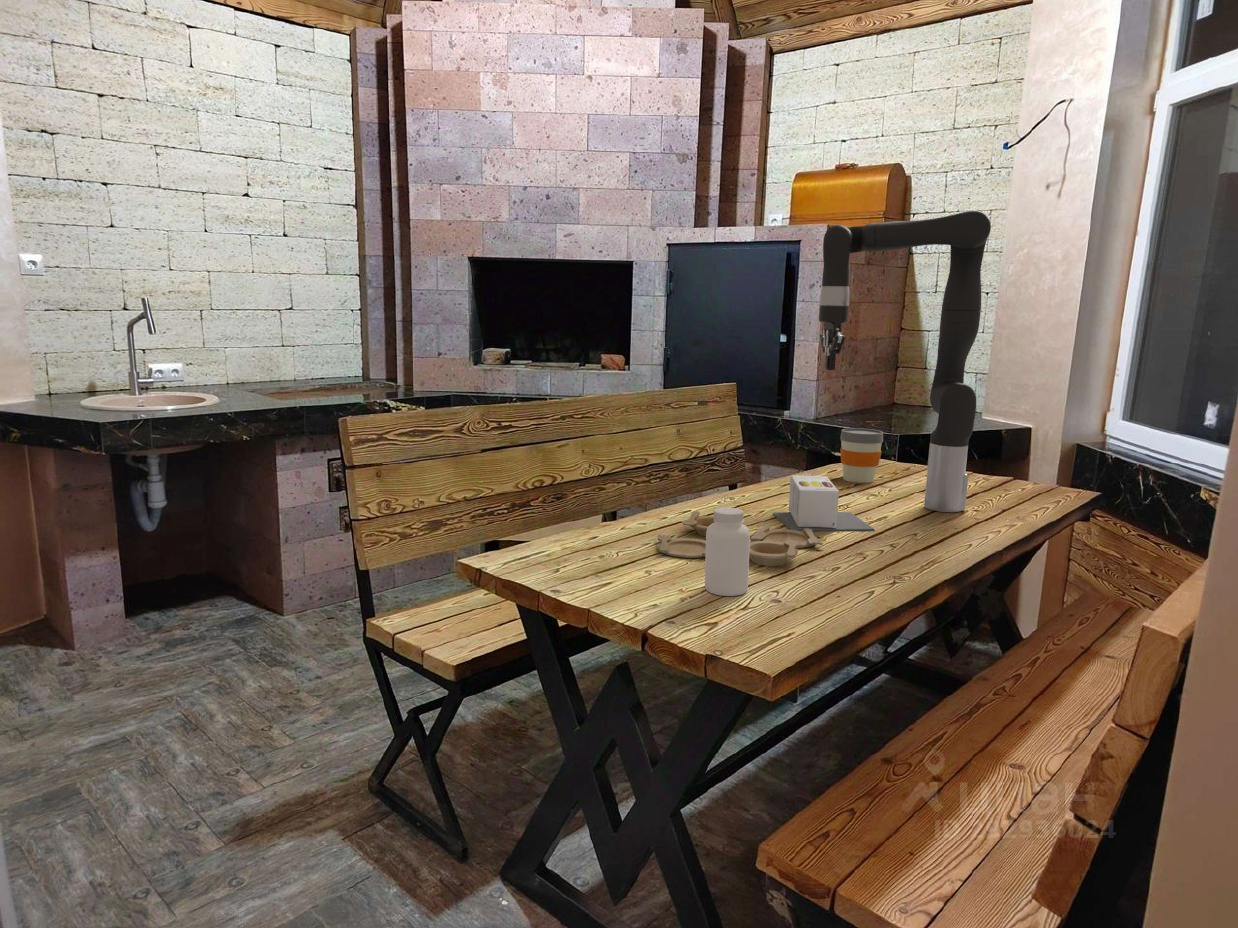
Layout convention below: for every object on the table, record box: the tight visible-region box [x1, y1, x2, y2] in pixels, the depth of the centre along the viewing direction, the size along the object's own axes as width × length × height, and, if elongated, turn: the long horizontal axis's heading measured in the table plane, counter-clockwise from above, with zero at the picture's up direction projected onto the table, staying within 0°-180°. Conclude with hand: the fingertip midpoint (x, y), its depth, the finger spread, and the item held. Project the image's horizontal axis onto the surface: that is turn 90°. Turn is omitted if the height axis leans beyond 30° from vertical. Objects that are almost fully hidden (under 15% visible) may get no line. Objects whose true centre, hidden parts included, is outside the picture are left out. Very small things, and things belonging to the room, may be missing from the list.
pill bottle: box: [704, 507, 751, 597], centre depth 149 cm, size 8×8×15 cm
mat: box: [772, 511, 876, 532], centre depth 199 cm, size 20×16×1 cm
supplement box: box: [788, 474, 840, 528], centre depth 199 cm, size 10×9×17 cm
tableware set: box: [656, 510, 824, 567], centre depth 178 cm, size 35×29×4 cm
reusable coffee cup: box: [839, 427, 884, 484], centre depth 248 cm, size 13×13×15 cm
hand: (829, 369), depth 219 cm, fingers closed
